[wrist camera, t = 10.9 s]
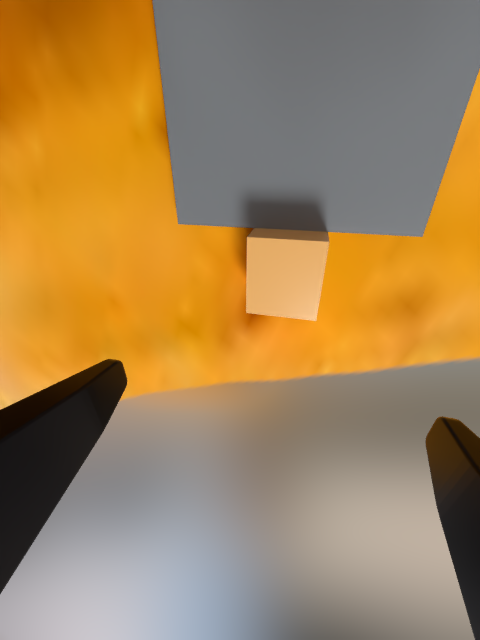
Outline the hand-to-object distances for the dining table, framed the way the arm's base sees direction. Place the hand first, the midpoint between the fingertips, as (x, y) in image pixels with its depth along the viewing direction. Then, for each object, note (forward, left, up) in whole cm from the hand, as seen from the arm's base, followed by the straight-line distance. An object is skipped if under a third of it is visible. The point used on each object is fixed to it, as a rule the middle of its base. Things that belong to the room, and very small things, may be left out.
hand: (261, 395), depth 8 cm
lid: (-2, +6, -11) cm, 13 cm away
